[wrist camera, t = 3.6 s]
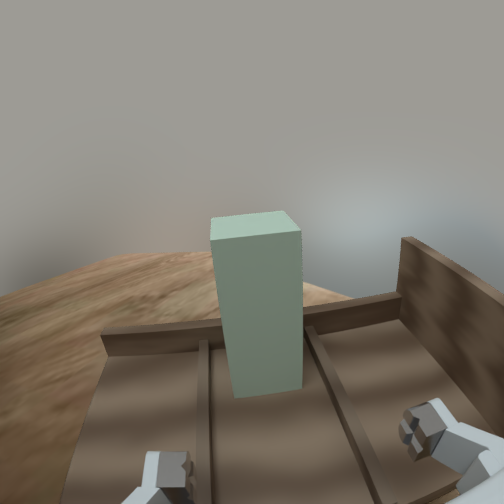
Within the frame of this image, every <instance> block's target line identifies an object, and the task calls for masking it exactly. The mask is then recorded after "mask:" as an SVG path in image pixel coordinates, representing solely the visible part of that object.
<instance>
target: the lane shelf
mask: <svg viewBox="0 0 504 504" xmlns="http://www.w3.org/2000/svg"><path fill="white" fill-rule="evenodd" d="M399 263H400V264H399V272H398V282H397V289H396V292H391V293H385V294H380V295H375V296H369V297H364V298H358V299H352V300H346V301H340V302H334V303H328V304H322V305H315V306H309V307H303V374H302V389H297V390H292V391H286V392H279V393H273V394H266V395H259V396H251V397H243V398H235V399H234V394H233V388H232V382H231V376H230V371H229V365H228V359H227V352H226V346H225V340H224V334H223V327H222V321H221V318H217V319H208V320H198V321H188V322H177V323H166V324H154V325H141V326H126V327H110V328H104V329H103V331H102V333H101V335H100V336H101V338H102V341H103V344H104V346H105V349H106V352H107V354H108V359H107V362H106V364H105V367H104V369H103V372H102V374H101V377H100V380H99V382H98V385H97V387H96V390H95V393H94V395H93V398H92V401H91V403H90V406H89V409H88V412H87V415H86V417H85V420H84V423H83V426H82V429H81V432H80V435H79V438H78V441H77V444H76V447H75V450H74V454H73V457H72V460H71V463H70V467H69V470H68V473H67V477H66V480H65V484H64V488H63V491H62V495H61V499H60V503H59V504H121V503H122V502H123V501H124V500H125V499H126V498H127V497H128V496H129V495H130V494H131V493H132V492H133V491H134V490H135V489H136V488H137V487H141V485H142V478H143V470H144V463H145V456H146V453H147V451H189V453H190V455H191V461H193V462H194V464H195V468H196V473H197V484H196V485H195V486H194V488H195V490H196V492H197V504H426V503H428V502H430V501H432V500H434V499H436V498H438V497H440V496H442V495H444V494H446V493H448V492H450V491H452V490H454V489H456V484H457V482H458V481H459V480H460V479H461V477H462V476H463V475H462V474H460V473H458V472H456V471H455V470H453V469H451V468H450V467H448V466H446V465H444V464H443V463H441V462H439V461H438V460H436V459H434V458H433V457H431V456H428V457H426V458H423V459H421V460H418V461H416V462H413V461H412V459H411V457H410V455H409V453H408V452H407V449H408V445H406V444H404V443H402V441H401V439H400V436H399V430H398V427H399V424H400V422H401V421H402V420H403V419H404V417H403V413H404V411H405V410H406V409H409V408H411V407H414V406H417V405H419V404H422V403H424V402H428V401H430V400H432V399H435V398H439V399H440V400H441V401H442V402H443V404H444V405H445V406H446V407H447V409H448V410H449V411H450V413H451V414H452V415H453V417H454V418H455V419H456V421H457V422H458V423H460V422H462V423H465V424H467V425H470V426H472V427H475V428H477V429H480V430H482V431H485V432H488V433H490V434H493V435H495V436H498V437H501V438H503V439H504V294H502V293H501V292H499V291H498V290H496V289H495V288H493V287H492V286H490V285H489V284H487V283H486V282H484V281H483V280H481V279H480V278H478V277H477V276H475V275H474V274H472V273H471V272H469V271H468V270H466V269H465V268H463V267H461V266H460V265H458V264H457V263H455V262H453V261H452V260H450V259H449V258H447V257H445V256H444V255H442V254H441V253H439V252H437V251H436V250H434V249H432V248H430V247H429V246H427V245H426V244H424V243H422V242H420V241H419V240H417V239H415V238H414V237H403V238H401V252H400V262H399Z"/></svg>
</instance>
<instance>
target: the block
mask: <svg viewBox="0 0 504 504" xmlns="http://www.w3.org/2000/svg"><path fill="white" fill-rule="evenodd" d="M210 242H211V250H212V258H213V265H214V272H215V280H216V287H217V294H218V301H219V307H220V314H221V321H222V327H223V334H224V340H225V346H226V352H227V359H228V365H229V371H230V376H231V382H232V388H233V394H234V399H235V398H243V397H251V396H259V395H266V394H273V393H279V392H286V391H292V390H297V389H302V374H303V279H302V239H301V230H300V228H299V227H298V226H297V225H296V224H295V223H294V222H293V221H292V220H291V219H290V218H289V217H288V215H287V214H286V213H285V212H284V211H274V212H264V213H255V214H245V215H235V216H226V217H217V218H212V219H211V236H210Z"/></svg>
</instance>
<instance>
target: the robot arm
mask: <svg viewBox="0 0 504 504" xmlns="http://www.w3.org/2000/svg"><path fill="white" fill-rule="evenodd" d="M403 417H404V419H403V420H402V421H401V422H400V424H399V427H398V430H399V436H400V439H401V441H402V443H404V444H406V445H408V449H407V452H408V453H409V455H410V457H411V459H412V461H413V462H416V461H418V460H421V459H423V458H426V457H428V456H431V457H433V458H434V459H436V460H438V461H439V462H441V463H443V464H444V465H446V466H448V467H450V468H451V469H453V470H455V471H456V472H458V473H460V474H462V475H463V476H462V477H461V479H460V480H459V481H458V482H457V484H456V488H457V489H458V491H459V493H460V495H459V496H458V497H456V498H454V499H452V500H450V501H448V502H447V503H445V504H504V439H503V438H501V437H498V436H495V435H493V434H490V433H488V432H485V431H482V430H480V429H477V428H475V427H472V426H470V425H467V424H465V423H462V422H460V423H458V422H457V421H456V419H455V418H454V417H453V415H452V414H451V413H450V411H449V410H448V409H447V407H446V406H445V405H444V404H443V402H442V401H441V400H440V399H439V398H435V399H432V400H430V401H428V402H424V403H422V404H419V405H417V406H414V407H411V408H409V409H406V410H405V411H404V413H403ZM196 484H197V473H196V468H195V464H194V462H193V461H191V455H190V453H189V451H147V453H146V456H145V463H144V470H143V478H142V485H141V487H137V488H136V489H135V490H134V491H133V492H132V493H131V494H130V495H129V496H128V497H127V498H126V499H125V500H124V501H123V502H122V503H121V504H197V492H196V490H195V488H194V486H195V485H196Z"/></svg>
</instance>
